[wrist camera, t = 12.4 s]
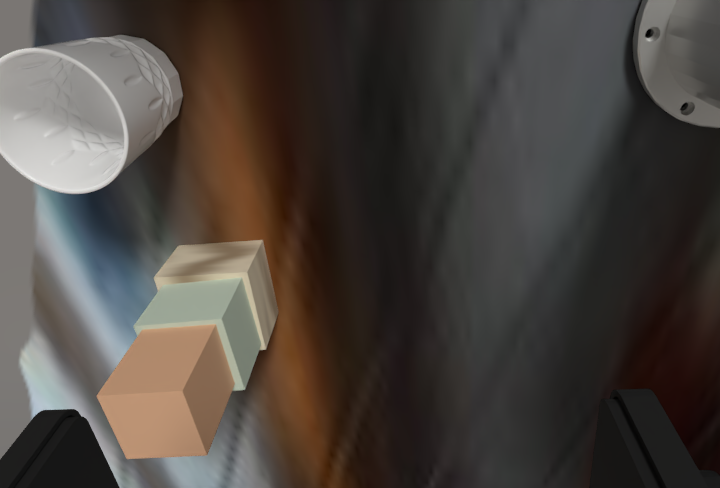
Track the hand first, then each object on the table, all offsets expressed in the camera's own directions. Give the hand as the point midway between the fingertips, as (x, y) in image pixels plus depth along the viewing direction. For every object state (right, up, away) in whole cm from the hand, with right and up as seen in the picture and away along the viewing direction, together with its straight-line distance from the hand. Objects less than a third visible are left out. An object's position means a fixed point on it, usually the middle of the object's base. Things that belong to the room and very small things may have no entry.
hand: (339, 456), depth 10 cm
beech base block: (-10, +1, +35) cm, 36 cm away
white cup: (-15, +15, +28) cm, 35 cm away
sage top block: (-11, -1, +31) cm, 32 cm away
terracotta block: (-11, -4, +26) cm, 28 cm away
